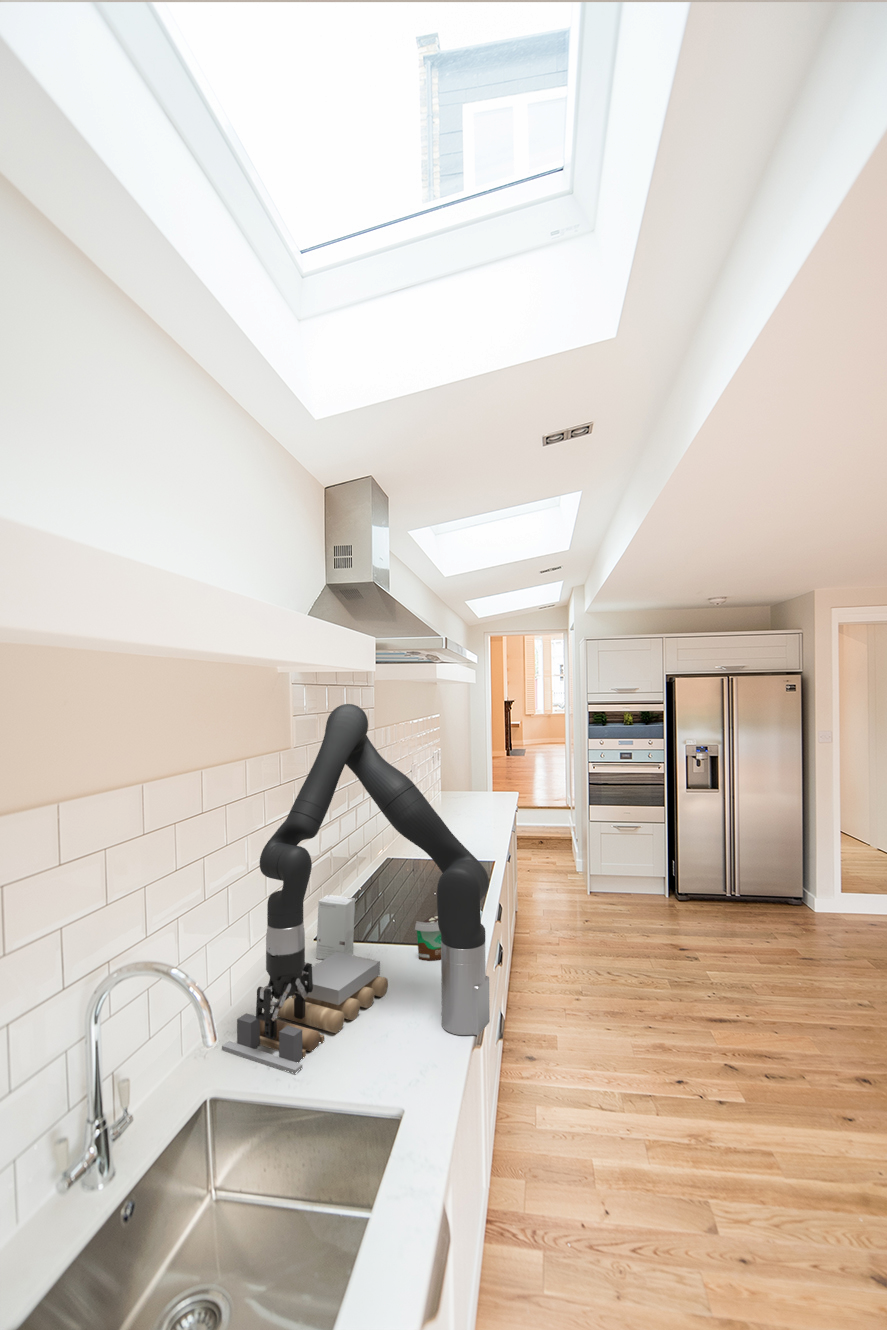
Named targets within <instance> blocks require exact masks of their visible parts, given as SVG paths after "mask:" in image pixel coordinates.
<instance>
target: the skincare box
mask: <svg viewBox="0 0 887 1330" xmlns="http://www.w3.org/2000/svg"><path fill="white" fill-rule="evenodd" d="M317 907H318V909H317V930H316V950H315V951H316V952H315V957H316V959H318V960H324V959H326V958H328V957H329V956H331V955H332V954H334V953H336V952H341V953H345V954H350V955H354V934H355V911H356V909H355V908H356V898H355V897H349V896H342V895H335V894H334V895H331V894H326V895H325V896H324V897H322V898H321V899H318V906H317Z"/></svg>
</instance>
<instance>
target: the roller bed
mask: <svg viewBox="0 0 887 1330" xmlns="http://www.w3.org/2000/svg"><path fill="white" fill-rule="evenodd" d="M388 987H389V980H388V979H387V977H384V976H380V975H378V976H377V977H376V978H374V979H373V980H372V981H370V982H369V983H368V984H366V985H365V986H364V987H362V988H361V989H360V990H358V991H357V992H356V993H354V994H353V995H352V996H350V997H349V998H348V999H346V1000H345V1001H344V1002H342V1003H341V1004H340V1005H336V1004H332V1003H328V1002H324V1001H321V1000H317V999H313V998H309V997H307V998H306V999H305V1017H304V1018H303V1019H298V1018H295V1016H294V999H295V998H296V997H295V996H294V995H293V996H291V997H289V998H288V999H287V1000H285V1001H284V1004H283V1007H282V1008H281V1009H279V1011H278V1014H277V1017H278V1018H282V1019H285V1020H289V1021H292V1022H296V1023H298V1024H301V1025H305V1026H309V1027H313V1028H316V1029H319V1030H323V1031H326V1032H329V1033H334V1034H338V1033H339V1032H340V1031H342V1028H343V1026H344V1024H345V1019H346V1020H350V1021H355V1020H356V1019H357V1017H358V1015H359V1013H360V1009H361V1008H365V1009H369V1008H371V1006H372V1005H373V1003H374V1000H375V996H376V997H380V998H382V997H384V996H385V995H386V993H387V990H388ZM276 1000H277V999H276ZM278 1001H279V1000H277V1001H276V1002H278ZM339 1030H340V1031H339ZM338 1031H339V1032H338ZM337 1032H338V1033H337ZM323 1041H324V1042H325V1035H324V1034H320V1042H321V1043H320V1044H323V1043H324V1042H323ZM260 1046H262V1047H266V1048H269V1049H273V1050H274V1051H275V1050H276V1051H277V1052H279V1042H278V1041H275V1040H272V1039H268V1038H265V1037H262V1036H260ZM305 1056H307V1050H304V1049H302V1059H304V1058H306V1057H305ZM303 1057H304V1058H303Z"/></svg>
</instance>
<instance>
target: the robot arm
mask: <svg viewBox="0 0 887 1330" xmlns="http://www.w3.org/2000/svg"><path fill="white" fill-rule="evenodd" d="M368 730H369V720H368V716H367V714H366V713H365V711H364V710H363V709H362V708H361V707H360V706H358V705H355V704H352V703H345V704H341V705H339V706H337V707H335V708H334V709H333V710H332V711H331V712H330V714H329V715H328V717H327V720H326V724H325V730H324V735H323V739H322V742H321V745H320V748H319V750H318V754H317V756H316V757H315V760H314V762H313V764H312V766H311V768H310V770H309V773H308V774H307V776H306V778H305V781H304V782H303V785H302V786H301V788H300V790H299V792H298V794H297V796H296V798H295V799H294V802H293V804H292V806H291V809H290V811H289V812H288V815H287V817H286V819H285V820H284V822H283V823H282V824H281V825H280V826H279V827H278V829H277V830H276V831H275V832H274V833H273V835H272V836H271V837H270V838H269V839H268V840H267V842H266V843H265V845H264V847H263V848H262V851H261V854H260V856H259V868H260V872H261V873H262V875H263V876H265V877H267V878H268V879H273V880H277V881H281V882H283V883H282V888H281V889H280V890H277V891H274V892H272V893H271V894H270V895H269V897H268V900H267V905H266V906H267V907H266V908H267V914H266V915H267V917H266V918H267V923H266V925H267V927H266V933H265V935H266V937H265V971H266V972H267V974H268V976H269V981H268V984H267V985H266V986H258V987H257V989H256V1008H255V1010H256V1011H255V1016H256V1019H258V1020H262V1021H265V1036H266V1038H268V1039H272V1040H274V1039H275V1038H276V1037H277V1017H278V1016H277V1014H278V1011H279V1009H281V1008H282V1007H283V1004H284V1001H285V1000H287V999H288V998H291V997H292V996H293V995H294V996H295V997H296V998H295V999H294V1016H295V1018H298V1019H303V1018H304V1017H305V999H306V998H307V994H308V993H309V992H310V993H311V992H312V990H313V980H312V967H313V964H312V963H309V962H306V942H305V941H306V939H305V938H306V933H305V924H304V901H305V897H306V893H307V889H308V885H309V880H310V877H311V873H312V869H313V868H312V866H313V865H312V864H313V863H312V862H313V861H312V858H311V855H310V853H309V851H308V850H307V849H306V848H305V847H304V846H300V845H299V844H301V842H302V841H304V840H309V839H313V838H315V837H316V836H317V834H318V833H319V831H320V829H321V826H322V824H323V823H324V822H323V821H324V819H325V817H326V815H327V812H328V810H329V808H330V805H331V802H332V801H333V798H334V796H335V792H336V789H337V786H338V783H339V780H340V777H341V775H342V773H343V770H344V768H345V766H347V767H348V768H349V769H350V770H351V771H352V773H353V774H355V775H354V776H356V777H357V779H358V780H359V782H360V783H361V785H362V786H363V788H364V789H365V790H366V792H367V793H368V795H369V796H370V798H371V799H372V800H373V801H374V803H375V804H376V806H377V807H378V809H379V810H380V812H381V813H382V815H383V816H384V817H385V818H386V819H387V821H388V822H389V823H390V825H391V826H392V827H393V828H394V829H395V830H396V831H397V833H399V834H400V835H401V836H403V838H405V839H407V840H408V841H409V842H411V843H412V844H414V845H416V846H417V847H418V848H419V849H421V850H423V852H425V853H426V854H427V855H428V856H429V857H430V858H431V860H432V861H433V862H434V863H435V865H436V866H437V867H438V870H440V872H441V875H440V876H439V879H438V882H437V887H436V907H437V915H438V926H439V930H440V932H441V960H440V963H441V964H440V967H441V969H440V970H441V976H440V977H441V979H440V980H441V981H440V982H441V988H440V991H441V993H440V994H441V1013H440V1014H441V1026H442V1029H444V1030H445V1031H446V1032H448V1033H450V1034H454V1035H457V1036H458V1035H459V1036H471V1035H474V1036H479V1035H481V1033H482V1032H483V1030H484V1029H485V1028H486V1027H487V1025H489V1023H490V1019H491V1018H490V976H489V975H486V971H487V970H486V928H485V927H484V925H483V924H482V919H481V900H482V899H483V898H484V897H486V894H488V891H489V888H490V887H489V886H490V880H489V875H488V873H487V870H486V868H485V867H484V866H483V865H482V863H481V862H480V861H479V860H478V859H477V858H476V856H474V855H473V854H472V853H471V852H470V851H469V850H468V849H467V847H465V846H464V845H463V843H462V842H461V841H460V840H458V838H457V837H456V836H455V834H453V832H452V831H451V830H450V829H449V827H448V826H447V824H446V823H445V822H444V821H443V819H442V817H440V815H439V814H438V813H437V811H436V810H435V809H434V807H433V806H432V805H431V804H430V802H429V801H428V799H427V797H425V796H424V795H423V793H422V792H421V791H420V790H419V788H418V787H417V785H416V784H415V783H414V782H413V781H412V780H411V778H409V777H408V776H407V775H406V774H404V773H403V772H402V771H401V770H399V769H398V768H396V767H395V766H393V765H392V764H390V763H389V762H388V761H386V760H385V759H384V758H383V756H382V755H381V754H380V753H379V752H378V750H377V749H376V748H375V746H374V744H373V743H372V742H371V741H370V739H369V736H368V735H367V734H368V732H369V731H368ZM298 845H299V846H298ZM305 981H307V985H305ZM273 998H274V999H273ZM273 1000H279V1001H278V1002H277V1001H273ZM272 1008H273V1009H272ZM271 1010H272V1012H271Z"/></svg>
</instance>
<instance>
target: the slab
mask: <svg viewBox="0 0 887 1330" xmlns="http://www.w3.org/2000/svg"><path fill="white" fill-rule="evenodd" d="M380 974H381V961H380V960H376V959H372V958H368V957H367V958H366V957H362V956H358V955H354V954H352V955H350V954H345V953H341V952H336V953H334V954H332V955H331V956H329V957H328V958H326V959H322V960H321V961H319V962H318V963H316V964H314V965H312V980H313V990H312V992H311V993H310V992H309V993H308V994H307V997H309V998H313V999H317V1000H321V1001H324V1002H328V1003H332V1004H336V1005H340V1004H341V1003H342V1002H344V1001H345V1000H346V999H348V998H349V997H350V996H352V995H353V994H354V993H356V992H357V991H358V990H360V989H361V988H362V987H364V986H365V985H366V984H368V983H369V982H370V981H372V980H373V979H374V978H376V977H377V976H380ZM305 985H307V981H305Z"/></svg>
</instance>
